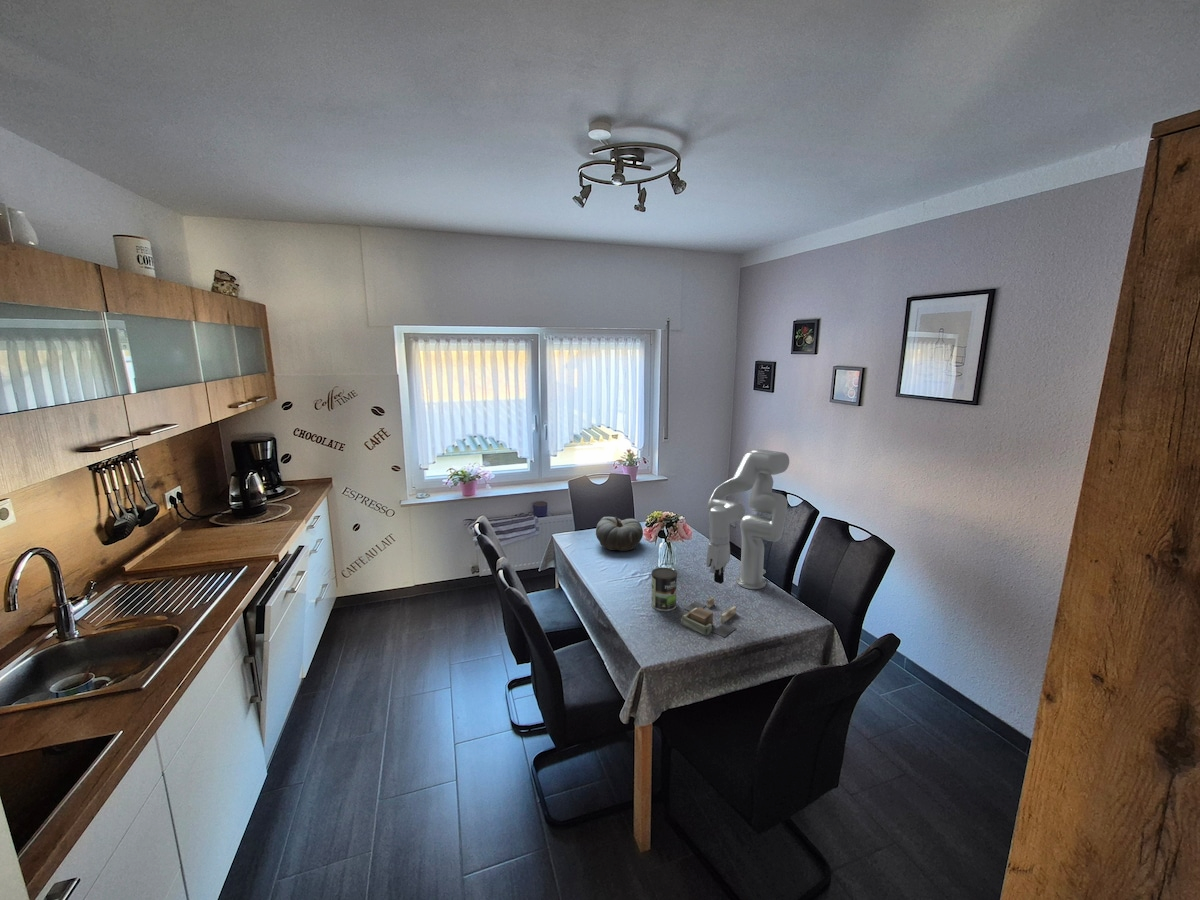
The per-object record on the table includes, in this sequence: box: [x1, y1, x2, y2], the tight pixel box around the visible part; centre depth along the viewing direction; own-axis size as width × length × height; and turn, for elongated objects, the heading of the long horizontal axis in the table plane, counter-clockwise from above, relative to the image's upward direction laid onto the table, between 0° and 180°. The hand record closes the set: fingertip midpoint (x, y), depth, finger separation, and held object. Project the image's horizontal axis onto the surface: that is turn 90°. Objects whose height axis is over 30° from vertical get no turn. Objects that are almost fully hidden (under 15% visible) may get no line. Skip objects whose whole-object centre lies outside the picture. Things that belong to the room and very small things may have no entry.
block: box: [690, 607, 714, 626], centre depth 180 cm, size 6×6×5 cm
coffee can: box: [651, 567, 678, 612], centre depth 194 cm, size 10×10×14 cm
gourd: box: [595, 516, 644, 552], centre depth 254 cm, size 25×25×17 cm
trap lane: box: [680, 596, 737, 638], centre depth 184 cm, size 21×22×3 cm
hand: (718, 581), depth 186 cm, fingers closed
